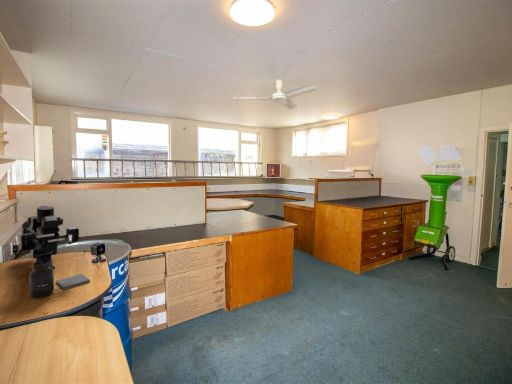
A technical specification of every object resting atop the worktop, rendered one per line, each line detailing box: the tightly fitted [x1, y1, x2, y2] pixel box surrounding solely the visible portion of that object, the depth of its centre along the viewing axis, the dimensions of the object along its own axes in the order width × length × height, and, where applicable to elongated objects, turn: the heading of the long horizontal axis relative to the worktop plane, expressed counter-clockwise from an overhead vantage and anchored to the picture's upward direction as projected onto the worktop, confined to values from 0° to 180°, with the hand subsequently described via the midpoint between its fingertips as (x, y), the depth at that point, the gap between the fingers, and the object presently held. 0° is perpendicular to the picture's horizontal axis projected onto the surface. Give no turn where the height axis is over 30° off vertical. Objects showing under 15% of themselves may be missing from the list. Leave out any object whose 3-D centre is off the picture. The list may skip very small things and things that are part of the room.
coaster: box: [55, 273, 91, 290], centre depth 105 cm, size 9×9×1 cm
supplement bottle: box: [29, 261, 55, 299], centre depth 94 cm, size 7×7×12 cm
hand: (56, 245), depth 100 cm, fingers open, 9 cm apart
